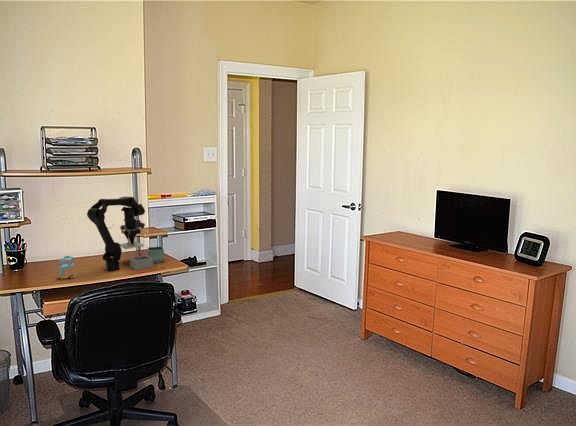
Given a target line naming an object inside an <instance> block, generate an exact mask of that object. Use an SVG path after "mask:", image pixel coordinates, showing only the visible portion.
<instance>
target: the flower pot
mask: <svg viewBox="0 0 576 426" xmlns="http://www.w3.org/2000/svg"><path fill="white" fill-rule="evenodd" d="M147 253H148V256H149V257H151V258H153V264H159V263H163V261H164V260H163V259H164V256H165V249H164V247H163V245H161V246H160V245H159V246H150V247H147Z"/></svg>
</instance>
